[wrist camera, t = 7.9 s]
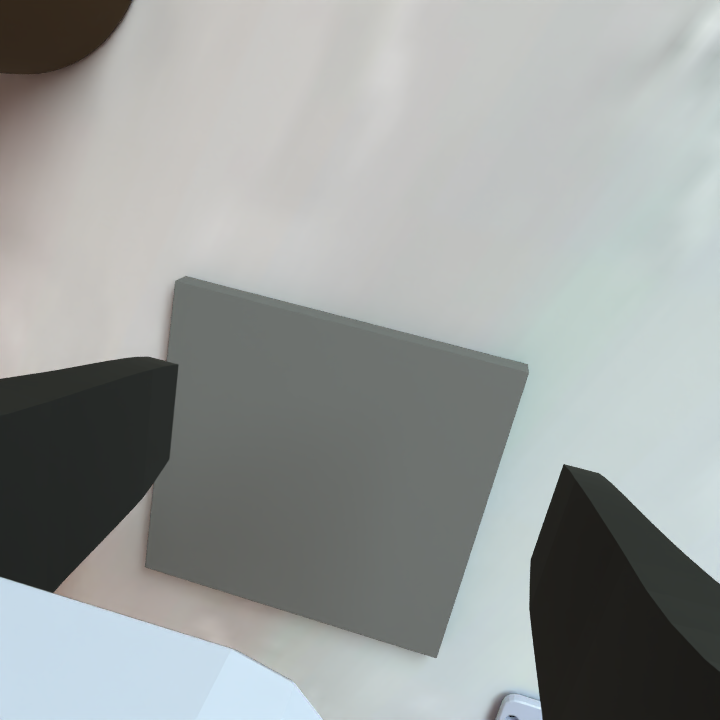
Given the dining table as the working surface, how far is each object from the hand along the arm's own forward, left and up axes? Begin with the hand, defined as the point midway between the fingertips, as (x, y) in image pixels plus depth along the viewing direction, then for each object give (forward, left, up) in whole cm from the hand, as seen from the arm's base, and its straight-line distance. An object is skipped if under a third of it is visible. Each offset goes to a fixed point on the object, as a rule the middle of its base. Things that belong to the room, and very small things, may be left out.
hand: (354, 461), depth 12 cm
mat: (-7, +2, -10) cm, 13 cm away
